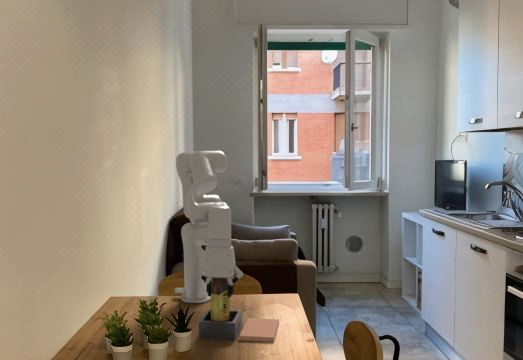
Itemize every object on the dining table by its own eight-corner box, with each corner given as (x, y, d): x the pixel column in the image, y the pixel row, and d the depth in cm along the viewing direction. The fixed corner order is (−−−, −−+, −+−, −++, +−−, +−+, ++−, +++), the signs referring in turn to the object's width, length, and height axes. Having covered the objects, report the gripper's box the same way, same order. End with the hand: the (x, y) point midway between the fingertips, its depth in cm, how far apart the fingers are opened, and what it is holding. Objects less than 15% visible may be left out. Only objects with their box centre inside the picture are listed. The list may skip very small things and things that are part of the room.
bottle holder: (198, 337, 155) (198, 321, 155) (208, 324, 167) (208, 309, 167) (235, 339, 154) (234, 323, 153) (241, 326, 165) (241, 310, 165)
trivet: (239, 340, 153) (239, 335, 153) (248, 322, 169) (248, 318, 169) (273, 342, 152) (273, 337, 152) (279, 323, 168) (279, 319, 167)
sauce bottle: (226, 327, 157) (226, 268, 155) (208, 325, 158) (207, 267, 157) (231, 320, 163) (231, 263, 162) (214, 318, 165) (213, 262, 163)
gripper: (191, 244, 156) (191, 297, 158) (243, 246, 153) (243, 300, 155) (197, 239, 163) (198, 290, 165) (247, 241, 161) (247, 293, 163)
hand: (220, 295), depth 160 cm, fingers closed on sauce bottle, 6 cm apart
